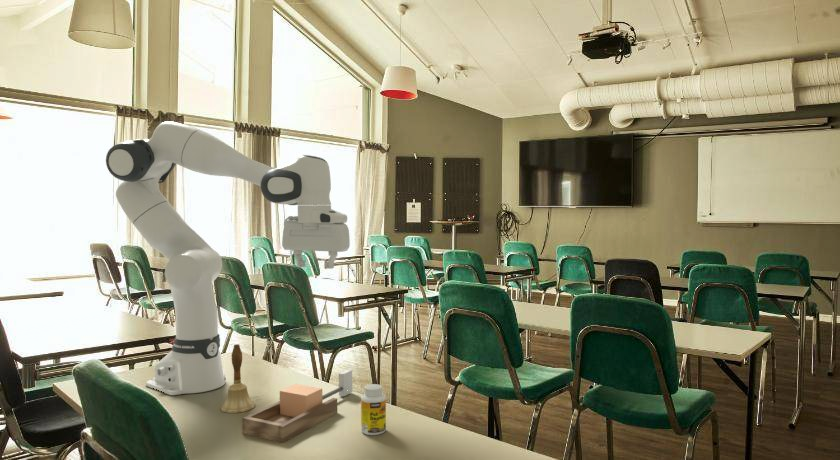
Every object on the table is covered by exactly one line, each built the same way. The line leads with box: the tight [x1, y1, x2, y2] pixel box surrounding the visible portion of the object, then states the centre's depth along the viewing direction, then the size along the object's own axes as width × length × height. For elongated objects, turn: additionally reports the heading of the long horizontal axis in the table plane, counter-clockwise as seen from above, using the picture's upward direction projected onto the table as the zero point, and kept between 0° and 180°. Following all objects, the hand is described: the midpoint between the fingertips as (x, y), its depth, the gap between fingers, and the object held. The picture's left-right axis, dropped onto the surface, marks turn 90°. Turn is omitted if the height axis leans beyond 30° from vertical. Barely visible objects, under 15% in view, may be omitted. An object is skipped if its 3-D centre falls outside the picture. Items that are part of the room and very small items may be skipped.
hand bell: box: [220, 343, 256, 414], centre depth 146 cm, size 8×8×16 cm
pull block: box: [279, 369, 353, 417], centre depth 147 cm, size 8×24×6 cm, turn 153°
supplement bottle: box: [360, 383, 387, 436], centre depth 130 cm, size 6×6×10 cm
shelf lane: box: [241, 397, 338, 444], centre depth 136 cm, size 12×20×4 cm, turn 153°
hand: (315, 267), depth 156 cm, fingers open, 8 cm apart
